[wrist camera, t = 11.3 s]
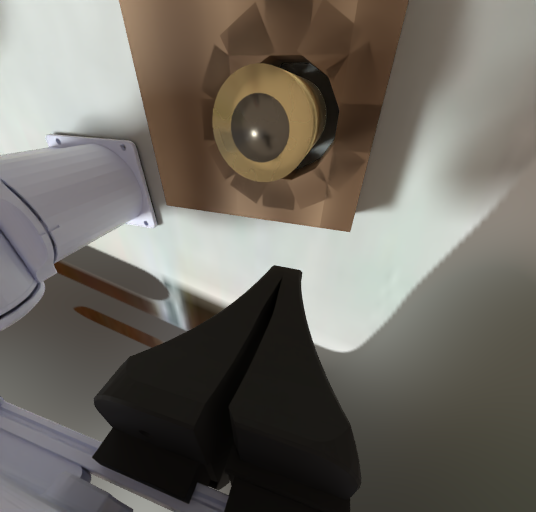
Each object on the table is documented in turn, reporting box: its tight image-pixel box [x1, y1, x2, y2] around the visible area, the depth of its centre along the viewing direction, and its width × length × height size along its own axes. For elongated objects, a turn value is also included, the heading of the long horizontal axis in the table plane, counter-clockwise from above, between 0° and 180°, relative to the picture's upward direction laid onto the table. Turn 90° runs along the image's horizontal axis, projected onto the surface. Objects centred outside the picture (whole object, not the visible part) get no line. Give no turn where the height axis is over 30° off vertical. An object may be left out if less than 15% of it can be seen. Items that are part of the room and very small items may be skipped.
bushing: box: [212, 63, 327, 182], centre depth 13 cm, size 4×4×7 cm
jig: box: [119, 0, 409, 232], centre depth 15 cm, size 14×12×3 cm
